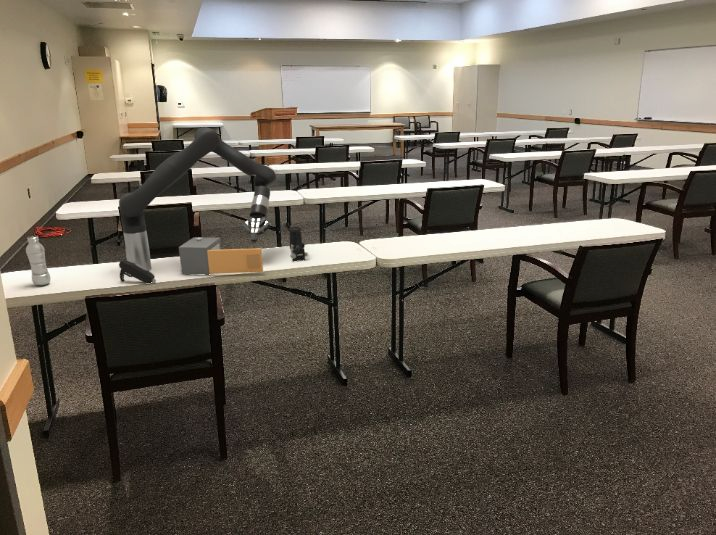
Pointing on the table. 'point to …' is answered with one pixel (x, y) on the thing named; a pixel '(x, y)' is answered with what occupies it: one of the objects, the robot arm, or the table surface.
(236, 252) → the side door
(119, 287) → the table surface
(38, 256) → the plastic bottle
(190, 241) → the grey cabinet body
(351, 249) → the table surface
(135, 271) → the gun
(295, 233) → the scope
